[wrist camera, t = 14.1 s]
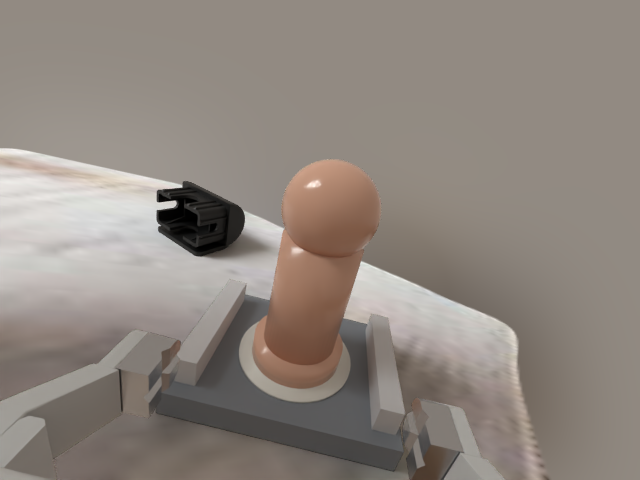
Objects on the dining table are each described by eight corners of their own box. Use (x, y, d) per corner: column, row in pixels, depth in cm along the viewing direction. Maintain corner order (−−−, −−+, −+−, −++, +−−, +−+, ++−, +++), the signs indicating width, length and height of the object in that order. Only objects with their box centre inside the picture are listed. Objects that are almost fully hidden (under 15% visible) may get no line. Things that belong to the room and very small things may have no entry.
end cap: (242, 246, 44) (248, 201, 41) (199, 259, 38) (203, 209, 36) (198, 221, 48) (201, 179, 46) (154, 229, 43) (154, 182, 40)
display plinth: (156, 413, 20) (156, 368, 18) (225, 306, 31) (229, 273, 30) (393, 471, 20) (414, 431, 18) (378, 343, 31) (390, 312, 29)
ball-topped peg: (262, 397, 20) (310, 168, 14) (244, 325, 26) (273, 140, 20) (353, 379, 23) (424, 184, 17) (319, 319, 29) (363, 156, 23)
